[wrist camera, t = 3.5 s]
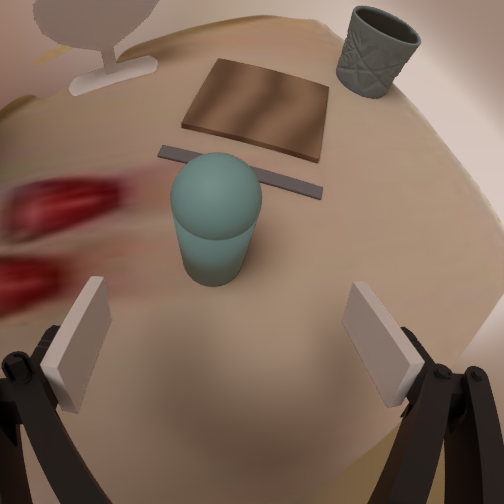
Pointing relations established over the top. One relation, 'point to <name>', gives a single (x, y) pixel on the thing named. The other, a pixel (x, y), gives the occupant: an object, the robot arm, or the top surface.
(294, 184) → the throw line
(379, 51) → the grey textured cup
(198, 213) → the teal domed cylinder
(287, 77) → the board
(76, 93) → the heart sculpture
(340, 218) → the top surface
